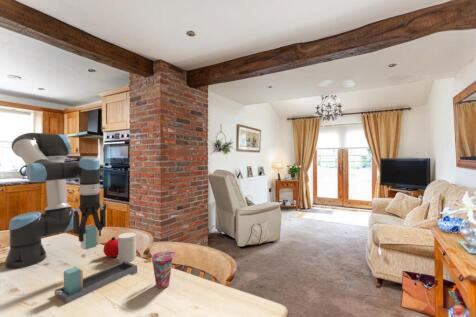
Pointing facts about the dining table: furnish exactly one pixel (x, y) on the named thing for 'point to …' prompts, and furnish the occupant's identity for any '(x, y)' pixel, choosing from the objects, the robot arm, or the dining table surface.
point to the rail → (98, 280)
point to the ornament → (111, 248)
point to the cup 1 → (126, 247)
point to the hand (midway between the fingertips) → (90, 246)
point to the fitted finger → (73, 280)
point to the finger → (91, 236)
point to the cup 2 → (162, 268)
